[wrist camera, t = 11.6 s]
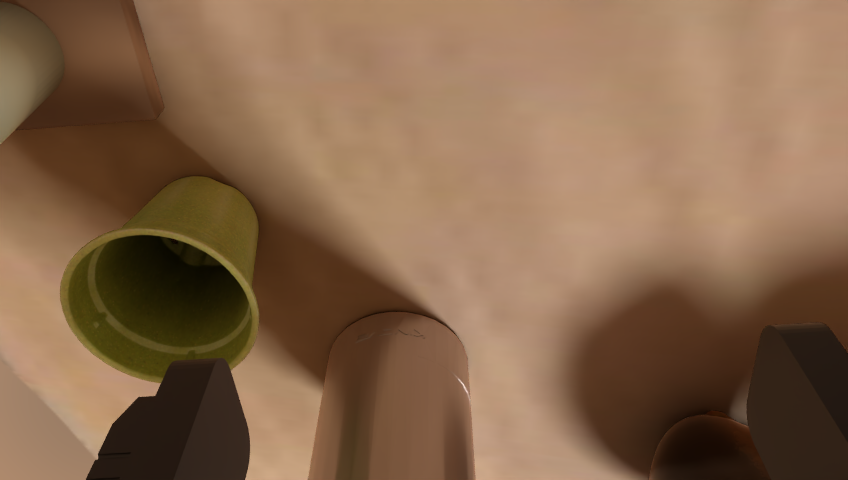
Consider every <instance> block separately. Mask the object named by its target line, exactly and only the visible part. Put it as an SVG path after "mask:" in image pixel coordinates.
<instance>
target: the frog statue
mask: <svg viewBox="0 0 848 480" xmlns="http://www.w3.org/2000/svg"><path fill="white" fill-rule="evenodd" d="M649 480H771V478H770V476H769V474H768V472H767V470H766V468H765V466H764V463H763V461H762V459H761V457H760V455H759V453H758V451H757V449H756V447H755V445H754V442H753V440H752V437H751V434H750V430H749V427H748V426H746V425H744V424H741V423H739V422H737V421H736V420H734V419H732V418H730V417H729V416H727V415H726V414H725V413H723V412H720V411H709V412H708V413H706V415H696V416H690V417H687V418H685V419H683V420H681V421H679V422H677V423H676V424H675V425H673V426H672V427H671V428H670V429H669V430H668V431H667V432H666V434H665V435H664V436H663V438H662V439H661V441H660V443H659V445H658V447H657V449H656V452H655V455H654V458H653V461H652V464H651V469H650V475H649Z"/></svg>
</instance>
